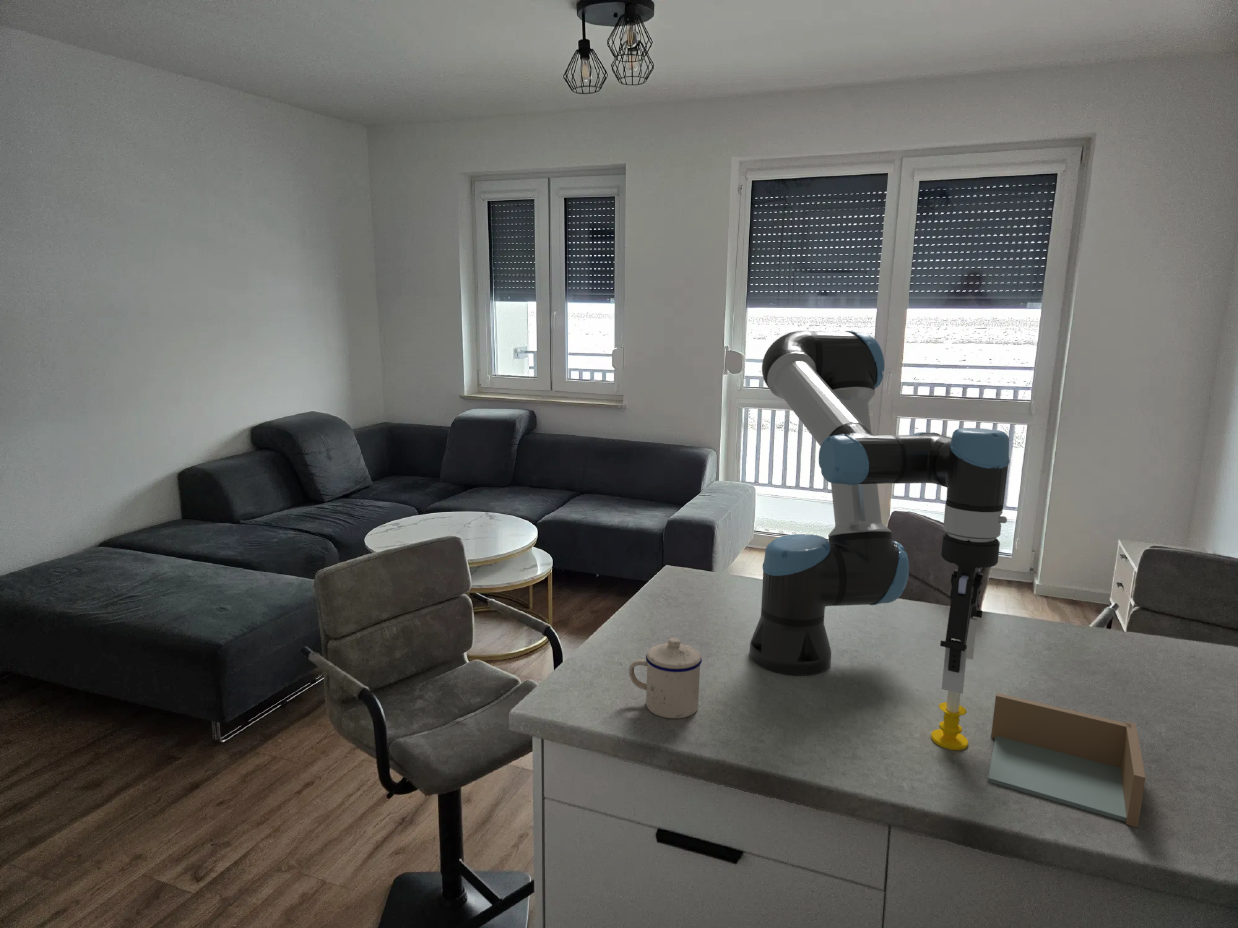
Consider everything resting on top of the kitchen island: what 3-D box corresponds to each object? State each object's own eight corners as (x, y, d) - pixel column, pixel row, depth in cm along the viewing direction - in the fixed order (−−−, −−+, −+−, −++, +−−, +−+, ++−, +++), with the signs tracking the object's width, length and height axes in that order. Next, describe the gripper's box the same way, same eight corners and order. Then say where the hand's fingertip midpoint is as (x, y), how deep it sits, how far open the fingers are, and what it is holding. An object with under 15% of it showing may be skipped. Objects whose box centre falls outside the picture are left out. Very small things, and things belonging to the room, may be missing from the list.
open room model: (982, 782, 102) (987, 735, 101) (991, 732, 115) (996, 690, 114) (1137, 827, 93) (1145, 777, 92) (1128, 767, 106) (1135, 723, 105)
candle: (925, 731, 115) (934, 637, 113) (959, 732, 115) (969, 638, 112) (938, 749, 110) (948, 652, 108) (973, 750, 110) (985, 653, 107)
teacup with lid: (703, 697, 125) (706, 632, 123) (694, 724, 116) (697, 655, 114) (635, 686, 128) (637, 623, 126) (621, 712, 119) (622, 644, 117)
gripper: (993, 560, 95) (977, 714, 98) (1006, 522, 116) (992, 649, 119) (930, 551, 98) (917, 699, 102) (954, 515, 119) (942, 639, 123)
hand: (958, 673), depth 110 cm, fingers open, 13 cm apart
